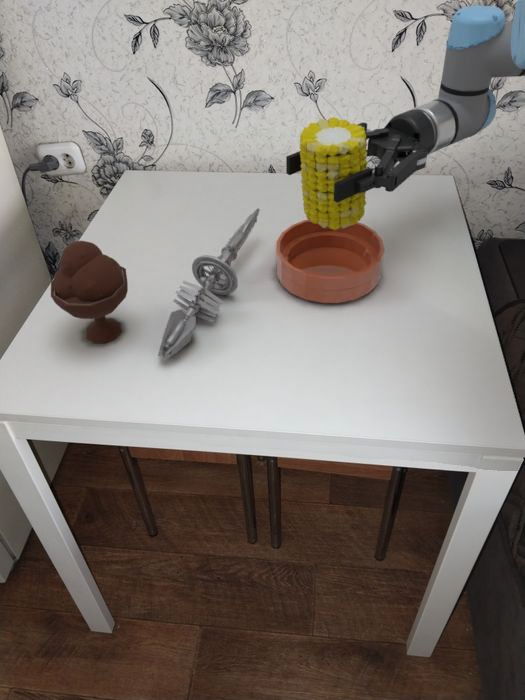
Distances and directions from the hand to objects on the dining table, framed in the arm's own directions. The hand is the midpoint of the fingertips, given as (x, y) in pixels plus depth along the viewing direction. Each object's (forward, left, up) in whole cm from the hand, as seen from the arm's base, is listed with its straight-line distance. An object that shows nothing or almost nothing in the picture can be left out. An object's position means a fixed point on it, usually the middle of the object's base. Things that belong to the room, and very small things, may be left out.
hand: (311, 178), depth 84 cm
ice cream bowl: (+19, +28, -19) cm, 39 cm away
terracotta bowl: (-1, -4, -19) cm, 19 cm away
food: (-1, -4, -8) cm, 9 cm away
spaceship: (+10, +11, -19) cm, 24 cm away
